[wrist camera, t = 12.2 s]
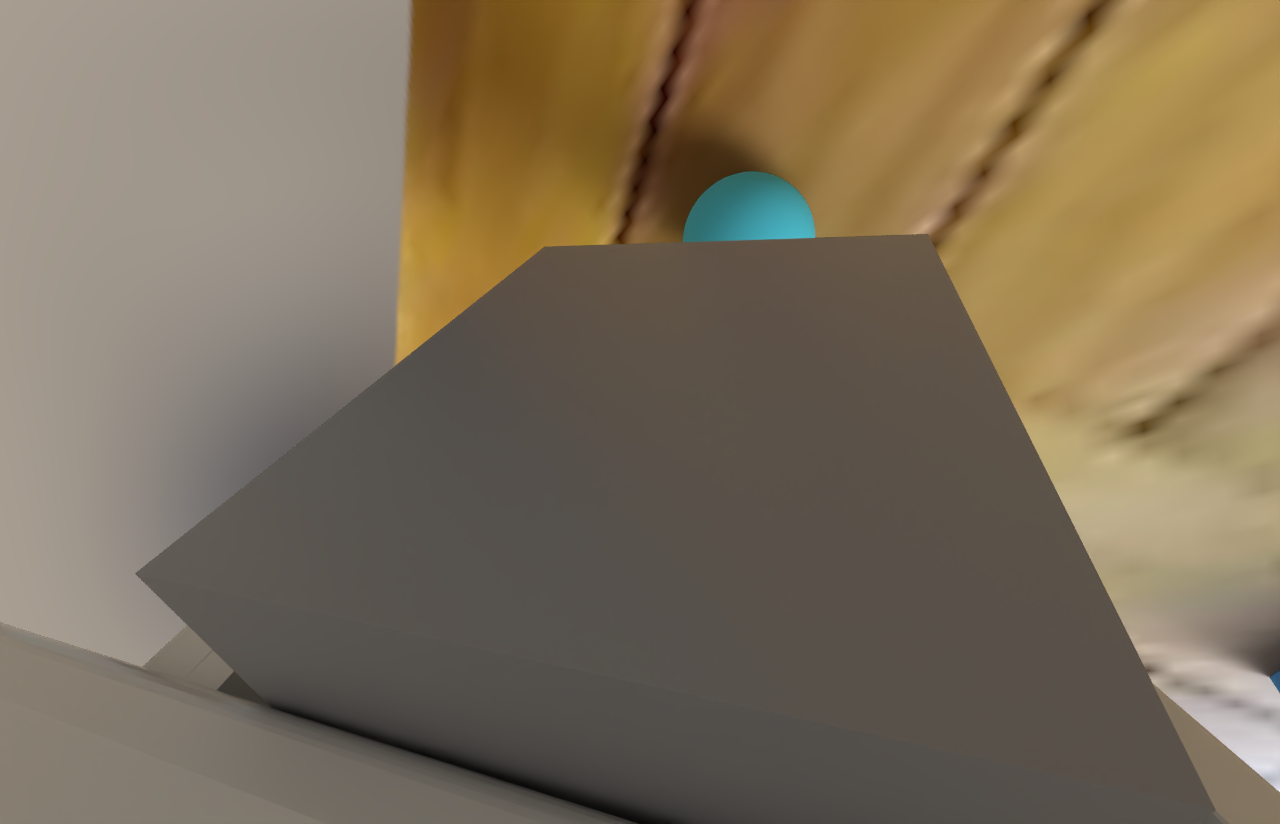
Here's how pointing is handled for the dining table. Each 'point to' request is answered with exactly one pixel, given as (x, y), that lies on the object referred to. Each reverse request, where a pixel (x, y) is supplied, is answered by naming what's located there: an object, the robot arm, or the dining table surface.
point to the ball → (749, 210)
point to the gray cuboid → (698, 556)
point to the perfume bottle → (1276, 680)
